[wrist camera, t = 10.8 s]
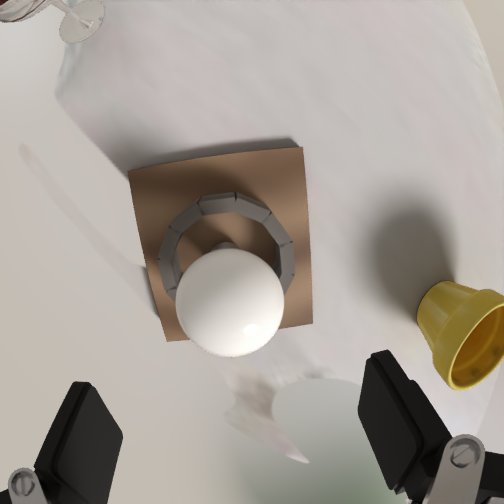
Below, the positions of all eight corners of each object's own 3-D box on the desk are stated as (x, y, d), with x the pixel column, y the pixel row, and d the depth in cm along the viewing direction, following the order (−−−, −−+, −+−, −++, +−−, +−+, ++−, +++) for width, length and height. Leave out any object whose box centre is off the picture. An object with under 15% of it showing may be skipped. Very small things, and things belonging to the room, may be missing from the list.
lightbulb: (178, 276, 25) (157, 363, 15) (201, 206, 23) (188, 259, 13) (248, 297, 26) (266, 387, 16) (276, 232, 25) (316, 298, 14)
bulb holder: (131, 170, 23) (114, 173, 19) (299, 146, 23) (312, 146, 20) (168, 335, 28) (161, 360, 24) (310, 318, 29) (321, 341, 25)
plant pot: (430, 252, 28) (491, 291, 18) (479, 277, 29) (530, 312, 20) (387, 335, 30) (429, 391, 21) (441, 346, 32) (481, 391, 23)
